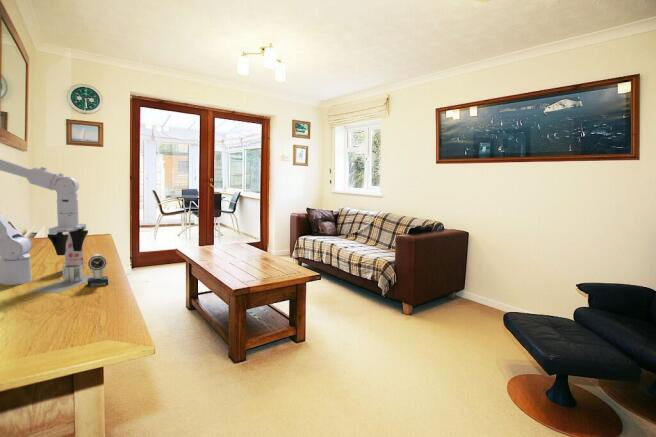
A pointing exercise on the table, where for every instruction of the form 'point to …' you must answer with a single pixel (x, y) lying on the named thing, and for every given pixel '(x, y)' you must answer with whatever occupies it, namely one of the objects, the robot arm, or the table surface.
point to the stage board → (60, 286)
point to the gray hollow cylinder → (72, 273)
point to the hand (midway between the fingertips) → (69, 253)
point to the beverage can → (72, 253)
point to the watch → (97, 270)
